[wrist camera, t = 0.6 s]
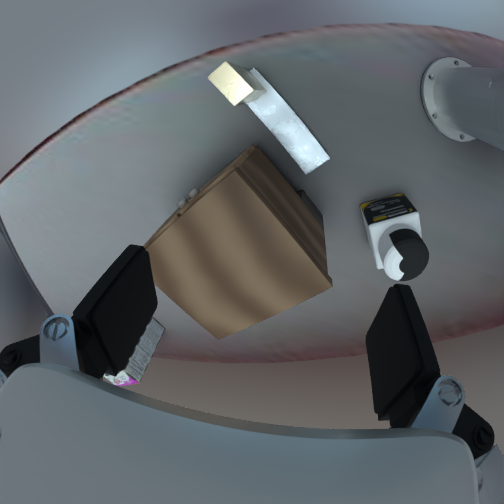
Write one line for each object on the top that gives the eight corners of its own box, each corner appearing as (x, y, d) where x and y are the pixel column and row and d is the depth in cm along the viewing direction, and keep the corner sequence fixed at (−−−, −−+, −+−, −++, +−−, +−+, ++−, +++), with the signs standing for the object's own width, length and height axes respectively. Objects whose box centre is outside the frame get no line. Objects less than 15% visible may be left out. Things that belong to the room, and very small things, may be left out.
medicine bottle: (402, 191, 35) (433, 231, 26) (409, 232, 39) (435, 279, 29) (359, 203, 38) (376, 247, 28) (368, 243, 41) (384, 294, 31)
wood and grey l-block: (253, 65, 30) (231, 55, 21) (329, 155, 35) (338, 182, 26) (230, 84, 32) (201, 83, 22) (305, 171, 37) (306, 203, 28)
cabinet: (257, 132, 35) (226, 161, 22) (325, 215, 40) (332, 286, 27) (179, 200, 43) (126, 256, 30) (243, 266, 48) (218, 339, 34)
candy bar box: (142, 338, 67) (117, 387, 54) (129, 326, 66) (100, 374, 52) (167, 329, 62) (139, 384, 49) (152, 315, 61) (121, 370, 47)
